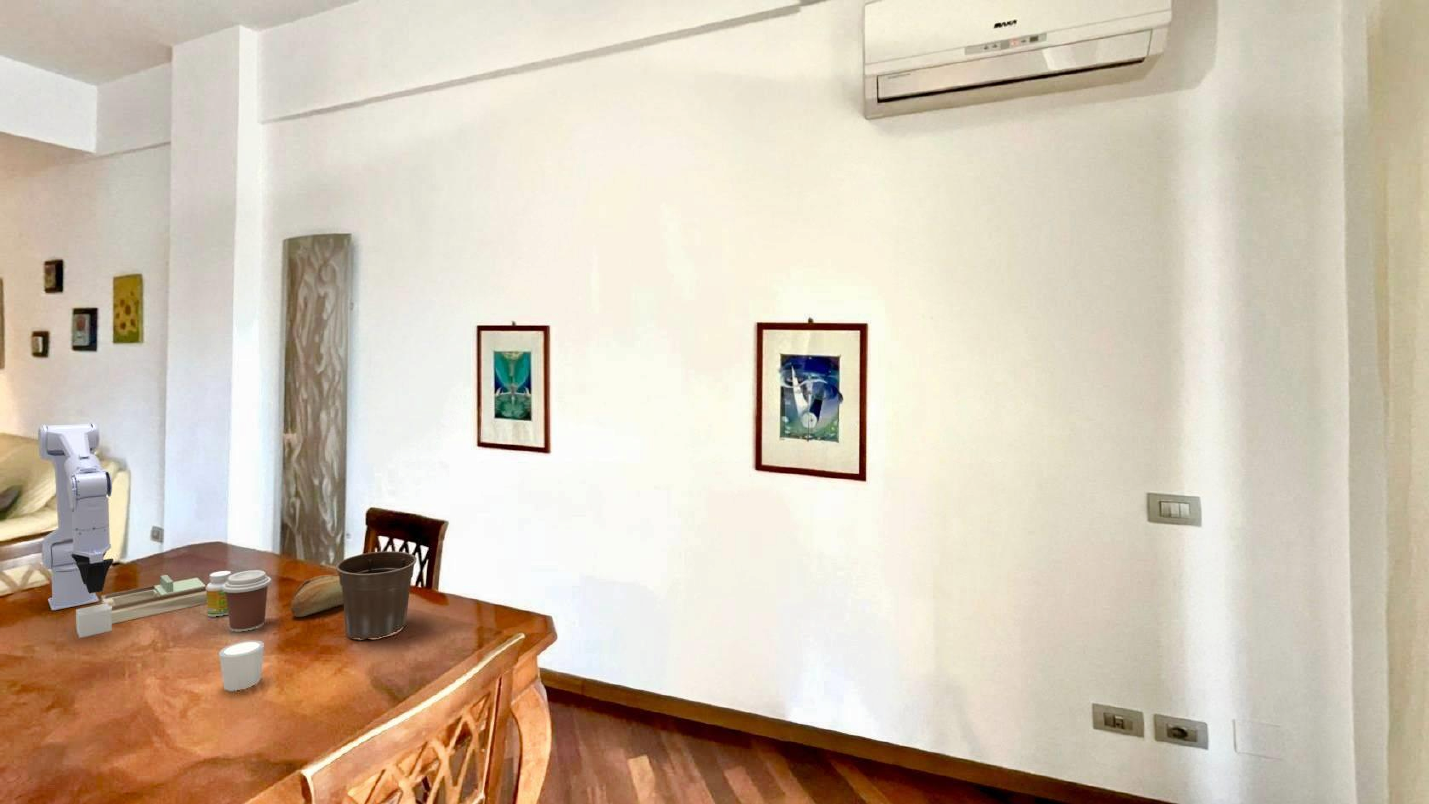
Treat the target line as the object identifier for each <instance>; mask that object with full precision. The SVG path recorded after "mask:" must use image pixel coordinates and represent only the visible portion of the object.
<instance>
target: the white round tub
mask: <svg viewBox="0 0 1429 804" xmlns="http://www.w3.org/2000/svg"><path fill="white" fill-rule="evenodd" d="M264 648H265V644H264V642H263V641H261V640H255V639H254V640H245V641H244V640H243V641H240V642H235V643H232V644H229V645H227V646H225V647H224V648H222V649H221V650H220V651H219V653H218V654H219V655H218V656H219V661H220V669H221V676H222V683H223V690H225V689H226V690H225V691H227V690H228V691H227V692H237V690H240V689H244V690H247V689H246V688H248V687H250V688H252V687H251V686H253V685H254V684H256V685H258V684H259V683H260V682H259V680H260V679H262V670H263V659H264V650H265V649H264ZM258 682H259V683H258ZM257 683H258V684H257ZM253 687H254V686H253ZM248 689H249V688H248ZM234 690H235V691H234ZM240 691H241V690H240Z"/></svg>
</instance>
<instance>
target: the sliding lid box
mask: <svg viewBox="0 0 1429 804" xmlns="http://www.w3.org/2000/svg"><path fill="white" fill-rule="evenodd" d="M193 578H196V577H190V578H185V579H180V580H174V581H173V580H172V581H173V582H178V581H183V580H188V579H193ZM157 585H161V583H159V584H154V585H153V584H152V585H147V586H142V587H137V588H131V589H128V590H123V591H122V590H121V591H116V592H112V593H106V594H104V595H101V596H100V605H101V604H106V603H107V604H108V605H109V607H110V608H111V624H112V625H113V624H119V623H123V622H127V621H132V620H136V619H142V618H145V617H149V616H154V615H159V614H164V613H167V612H172V611H177V610H183V609H186V608H190V607H195V606H200V605H205V604H207V598H206V597H207V596H206V587H207V586H206V587H202V588H197V589H192V590H187V591H182V592H177V593H173V594H168V595H163V596H159V594H158V593H157V592H156V591H155V589H154V586H157Z"/></svg>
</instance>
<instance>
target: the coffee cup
mask: <svg viewBox="0 0 1429 804" xmlns="http://www.w3.org/2000/svg"><path fill="white" fill-rule="evenodd" d="M271 583H272V578H271V577H270V576H268V575H267V573H266V572H265V571H263V570H259V569H257V570H256V569H253V570H244V571H240V572H235V573H233V574H231V576H229V577H228V578H227V582H226V583H224V584H223V585H222V590H223V591H224V592H226V600H227V608H228V623H229V630H230V629H231V630H230V632H233V631H235V632H234V633H242V632H241V631H245V630H250V629H254V628H256V627H260V626H261V627H263V626H264V625H265V624H264V622H265V621H266V620H265V619H266V610H267V600H268V599H267V598H268V587H269V586H270V585H271ZM265 623H266V622H265ZM263 624H264V625H263ZM262 625H263V626H262ZM261 627H260V628H261ZM254 630H255V629H254Z"/></svg>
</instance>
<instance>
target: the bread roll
mask: <svg viewBox="0 0 1429 804" xmlns="http://www.w3.org/2000/svg"><path fill="white" fill-rule="evenodd" d="M342 604H343V605H344V603H343V593H342V586H341V585H340V579H339V575H336V574H324V575H318V576H314V577H312V578H310V579H306V580H305V581H303V582H302V583H301V584H300V585H299V586H298V587H297V589H296V591H295V592H294V594H293V596H292V600H291V602H290V605H291V606H290V612H291V614H292V615H293V616H294V617H295V618H296V617H298V618H300V617H306V616H310V615H312V614H317V613H320V612H323V611H325V610H329V609H332V607H333V608H336V607H339V605H340V606H343V605H342ZM335 606H336V607H335Z"/></svg>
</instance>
